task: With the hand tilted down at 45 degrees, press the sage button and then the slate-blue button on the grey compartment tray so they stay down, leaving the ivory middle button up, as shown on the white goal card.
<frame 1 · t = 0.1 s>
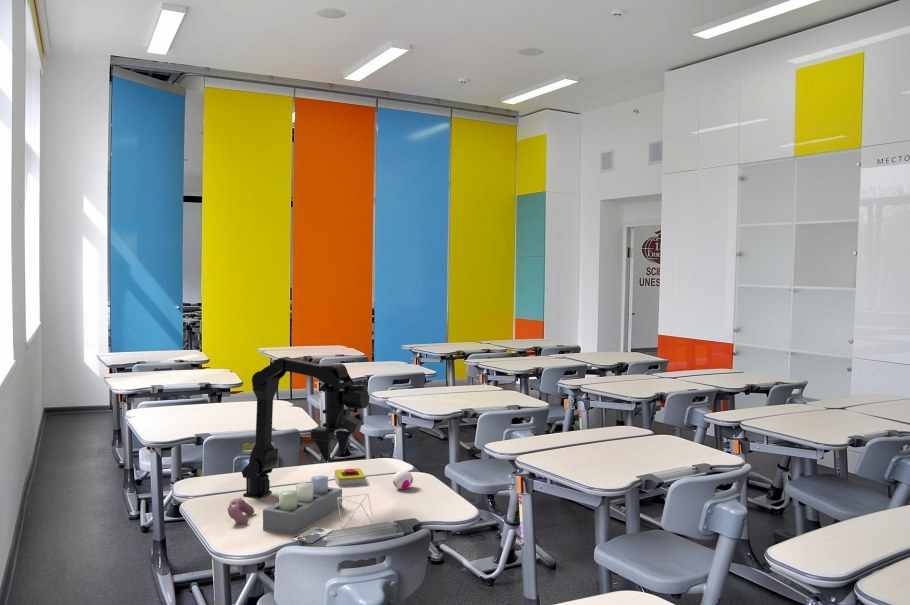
hand: (335, 457, 209), 15 cm above the table, tool pointing down, fingers open, 9 cm apart
geometric polyhedron: (355, 525, 193), on the table
sage button: (288, 502, 190), point 7 cm above the table, slide at 0.0 cm
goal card: (313, 535, 184), on the table
ivory button: (304, 494, 198), point 7 cm above the table, slide at 0.0 cm
slate-blue button: (319, 486, 205), point 7 cm above the table, slide at 0.0 cm
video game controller: (240, 520, 196), on the table
stress ball: (404, 489, 228), on the table
grey compartment tray: (304, 517, 198), on the table
emergency button: (349, 482, 236), on the table
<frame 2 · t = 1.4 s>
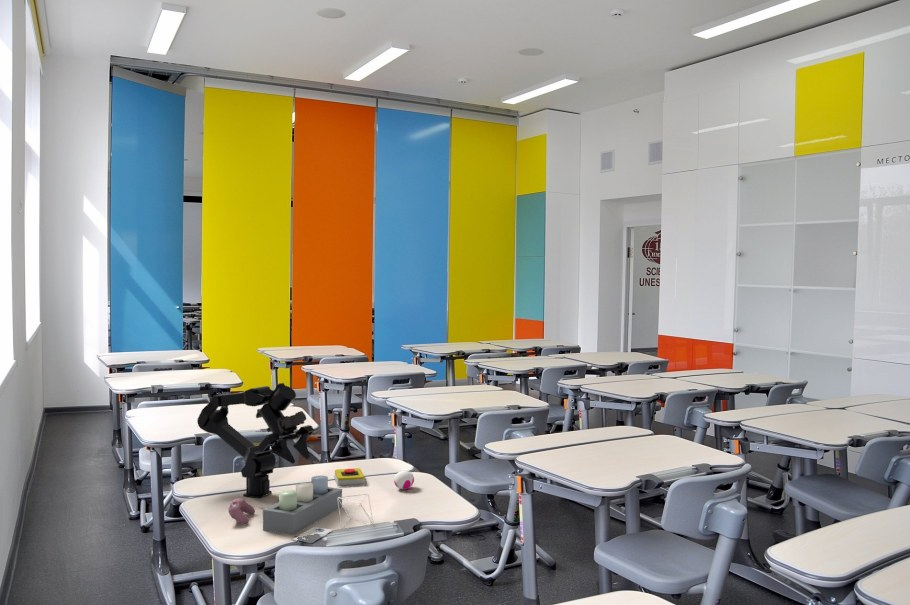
hand: (301, 460, 209), 14 cm above the table, tool tilted 45°, fingers open, 6 cm apart
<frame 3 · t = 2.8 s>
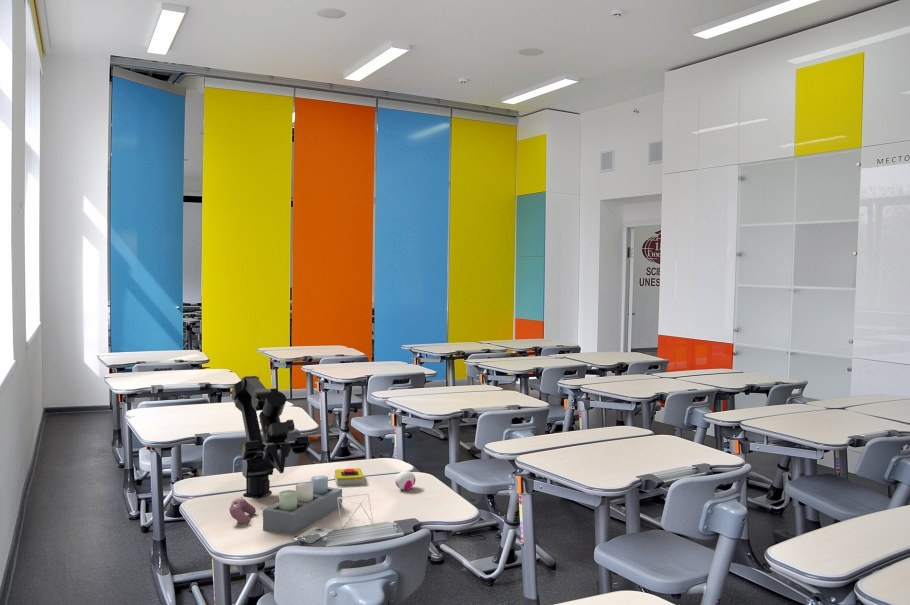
hand: (282, 472, 196), 14 cm above the table, tool tilted 45°, fingers closed
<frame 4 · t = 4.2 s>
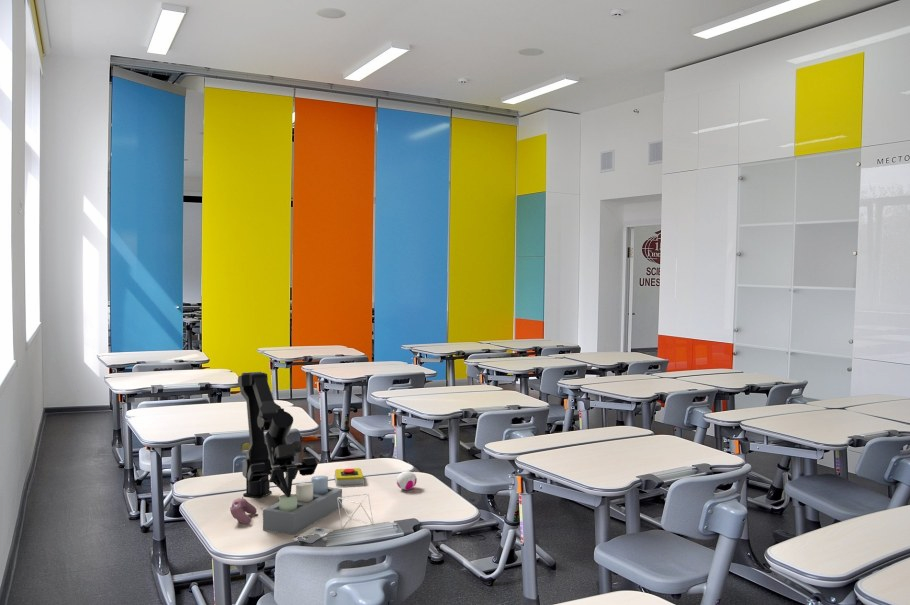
hand: (288, 496, 190), 9 cm above the table, tool tilted 45°, fingers closed, pressing on sage button
sage button: (288, 506, 190), point 6 cm above the table, slide at 1.1 cm, touching gripper
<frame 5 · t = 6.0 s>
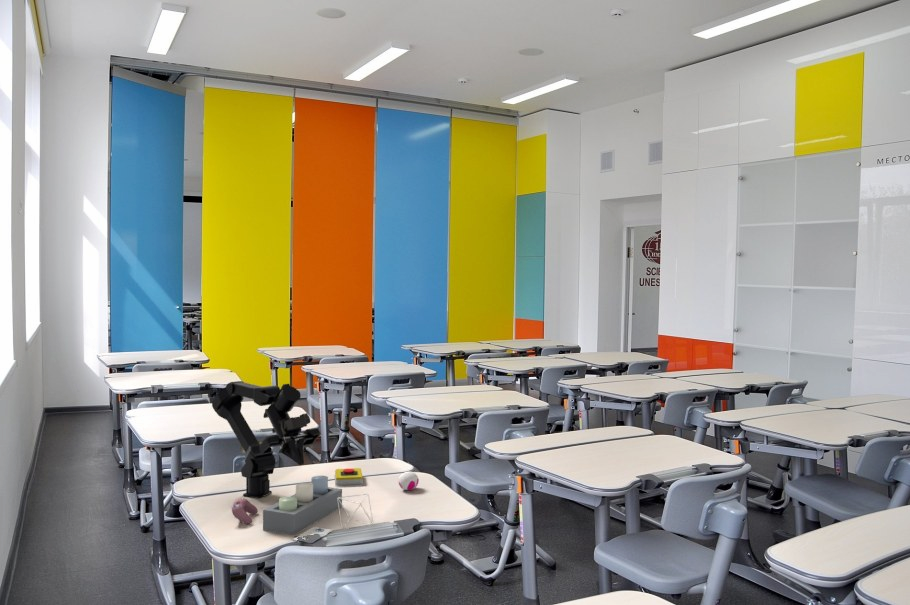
hand: (302, 464, 204), 14 cm above the table, tool tilted 45°, fingers closed
sage button: (288, 508, 190), point 5 cm above the table, slide at 1.8 cm
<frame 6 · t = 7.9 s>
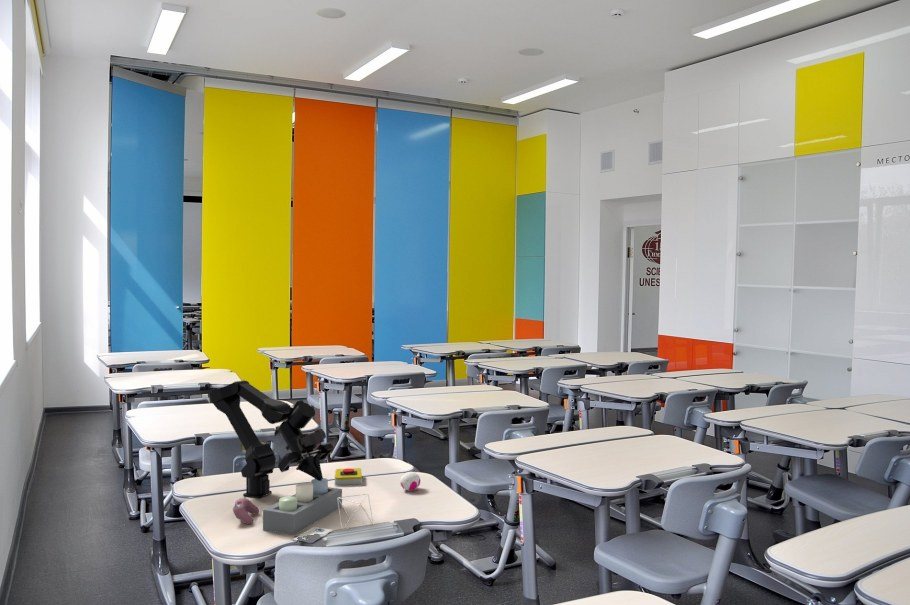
hand: (321, 479, 205), 9 cm above the table, tool tilted 45°, fingers closed, pressing on slate-blue button
slate-blue button: (319, 489, 205), point 6 cm above the table, slide at 0.8 cm, touching gripper
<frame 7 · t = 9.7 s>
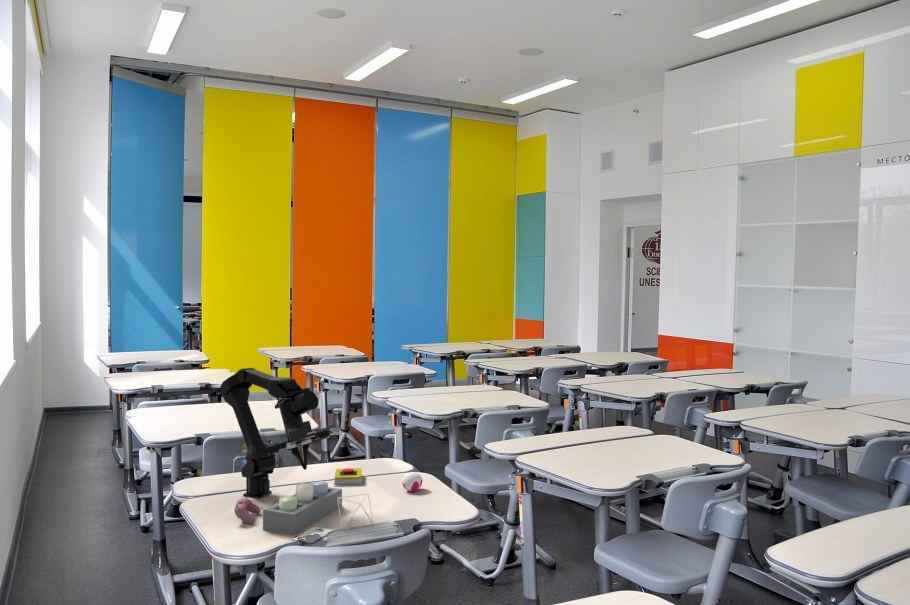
hand: (305, 469, 206), 12 cm above the table, tool tilted 25°, fingers closed
slate-blue button: (319, 492, 205), point 5 cm above the table, slide at 1.8 cm
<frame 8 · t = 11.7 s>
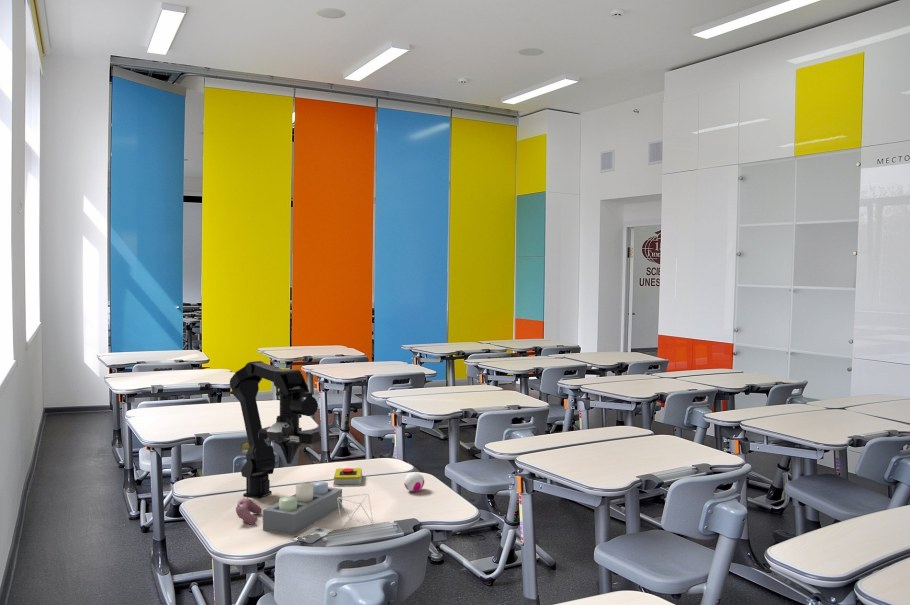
hand: (289, 463, 208), 13 cm above the table, tool pointing down, fingers closed
at the end: sage button slide at 1.8 cm; slate-blue button slide at 1.8 cm; ivory button slide at 0.0 cm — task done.
